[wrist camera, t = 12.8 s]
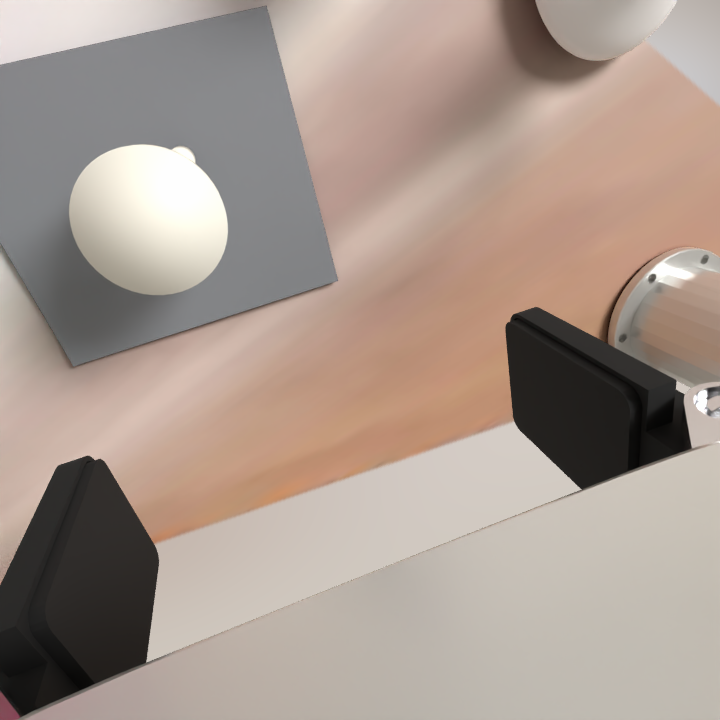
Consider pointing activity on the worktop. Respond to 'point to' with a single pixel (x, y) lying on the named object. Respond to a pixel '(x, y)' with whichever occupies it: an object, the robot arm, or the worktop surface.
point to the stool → (149, 219)
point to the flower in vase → (602, 24)
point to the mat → (170, 129)
